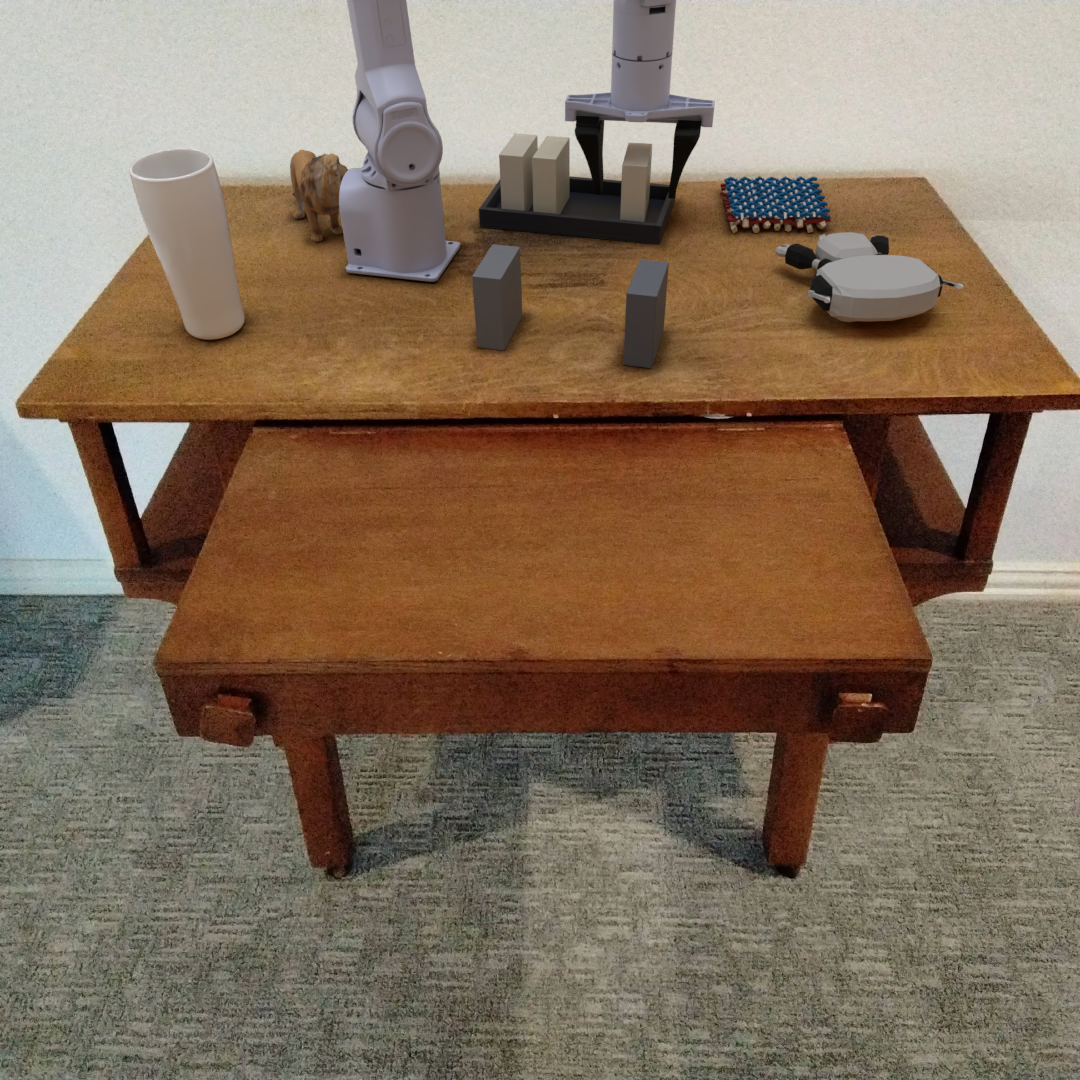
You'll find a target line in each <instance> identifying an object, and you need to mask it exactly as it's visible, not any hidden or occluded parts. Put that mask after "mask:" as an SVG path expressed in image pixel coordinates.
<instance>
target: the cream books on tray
mask: <svg viewBox="0 0 1080 1080" xmlns="http://www.w3.org/2000/svg"><path fill="white" fill-rule="evenodd" d="M570 141H571V140H570V137H568V136H552V135H546V136H545V137H544V139H543V141H542V142H541V143H540V145H538V142H539V141H538V134H528V133H518V132H517V133H513V135H512V137H511V138H510V139H509V141H508V142H507V143H506V145H505V146H504V148H502V150H501V151H500V153H499V154H498V159H499V160H498V162H499V164H498V165H499V180H500V184H501V205H502V209H510V210H521V211H529V209H530V208H531V206H532V205H533V208H534V212H543V213H553V214H560V213H561V212H562V210H563V208H564V206H565V204H566V203H567V201H568V199H569V196H570V173H571V172H570V169H571V168H570V165H571V164H570V163H571V162H570V159H571V158H570V153H571V152H570V149H571V148H570Z"/></svg>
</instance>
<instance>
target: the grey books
mask: <svg viewBox="0 0 1080 1080" xmlns="http://www.w3.org/2000/svg"><path fill="white" fill-rule="evenodd" d="M521 265H522V264H521V246H514V245H505V244H495V243H493V244H491V246H490V247H489V249H488V250H487V252H486V254H485V255H484V257H483V259H482V260H481V262H480V263H479V265H478V266H477V267H476V269H475V271H474V272H473V274H472V275H471V282H472V295H473V297H472V298H473V308H474V321H475V335H476V348H481V349H490V350H498V351H505V350H506V348H507V347H508V344H509V343H510V341H511V339H512V338H513V335H514V333H515V331H516V329H517V328H518V325H519V324H520V322H521V320H522V318H523V296H522V295H523V294H522V293H523V292H522V270H521V269H522V266H521ZM668 277H669V261H661V260H652V259H651V260H650V259H642V258H641V259H639V260H638V262H637V265H636V268H635V271H634V272H633V275H632V278H631V280H630V283H629V285H628V288H627V291H626V295H625V313H624V315H625V316H624V334H623V335H624V340H623V361H622V364H623V366H628V367H635V368H645V369H653V367H654V364H655V360H656V357H657V354H658V352H659V348H660V344H661V341H662V338H663V336H664V331H665V320H666V319H665V317H666V303H667V291H668Z"/></svg>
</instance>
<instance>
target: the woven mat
mask: <svg viewBox="0 0 1080 1080" xmlns="http://www.w3.org/2000/svg"><path fill="white" fill-rule="evenodd" d="M817 180H818V177H816V176H810V177H808V176H805V177H803V176H802V175H798V177H792V178H790V177H788V176H786V175H784V176H783V177H781V176H779V177H777V178H776V177H774V176H769V177H767V176H766V177H765V176H764V177H762V176H760V175H758V176H757V177H754V176H753V177H752V178H749V177H747V176H746V175H745V176H742V177H740V176H738V177H736V178H735V177H734V176H728V177H727V178H726V177H725V178H724V179H723V181H724V183H720V193H719V195H720V196H722V197H721V201H722V202H723V203H724V206H725V210H726V211H725V212H724V215H725V216H727V217H726V220H727V222H728V223H729V227H730V230H731V231H732V234H735V233H737V232H738V231H739V229H738V226H737V225H740V226H741V227H742V228H743V229H748V228H750V227H751V229H752V232H753V233H754V234H758V233H759V232H760V225H759V224H761V225H762V228H763V229H764V230H768V229H770V228H771V226H772V224H773V229H774V231H775V232H779V231H780V229H781V227H782V226H781V225H783V228H784V231H786V232H791V231H792V226H793V227H795V228H797V229H803V228H804V226H805V228H806V231H807V234H809V233H813V232H814V228H813V224H816V227H817V228H818V229H820V230H823V229H825V228H826V227H827V223H831V219H832V218H831V214H830V213H831V209H830V208H828V207H827V206H828V204H829V203H828V201H823V200H825V198H826V196H825V195H822V192H823V189H821V188H820V185H821V184H820V183H819V182H816V181H817Z"/></svg>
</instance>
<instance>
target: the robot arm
mask: <svg viewBox="0 0 1080 1080" xmlns="http://www.w3.org/2000/svg"><path fill="white" fill-rule="evenodd" d="M346 4H347V10H348V15H349V22H350V27H351V32H352V33H351V34H352V38H353V39H352V40H353V45H354V51H355V56H356V62H357V65H356V69H355V73H354V80H355V86H356V99H355V104H354V107H353V110H352V117H351V118H352V126H353V127H352V128H353V131H354V133H355V135H356V137H357V139H358V140H359V142H360V143H361V144H362V145H363V146H364V147H365V149H366V150H367V153H366V154H365V156H364V160H363V164H362V166H361V167H352V168H349V169H348V171H347V172H346V173H345V175H344V177H343V179H342V182H341V185H340V192H339V216H340V221H341V226H342V228H343V233H342V234H343V241H344V246H345V252H346V259H347V262H348V263H347V265H346V266H345V272H346V273H347V274H348V273H349V274H356V275H366V276H374V277H382V278H383V277H384V278H391V279H392V278H393V279H401V280H410V281H421V282H428V283H435V282H437V281H438V280H439V279H440V277H441V276H442V274H443V273H444V272H445V270H446V268H447V267H448V266H449V265H450V263H451V262H452V260H453V258H454V257H455V256H456V254H457V253H458V251H459V250H460V249H461V243H460V242H459V241H453V240H446V228H445V217H444V207H443V196H442V195H443V194H442V185H441V183H442V182H441V173H440V165H441V161H442V158H443V153H444V145H443V140H442V136H441V134H440V131H439V130H438V128H437V127H436V125H435V124H434V122H433V121H432V119H431V117H430V114H429V110H428V104H427V98H426V95H425V91H424V88H423V86H422V85H423V84H422V82H421V79H420V76H419V73H418V69H417V66H416V61H415V55H414V48H413V39H412V33H411V24H410V18H409V10H408V3H407V0H346ZM612 5H613V9H612V11H613V12H612V15H613V16H612V39H611V40H612V41H611V43H612V45H611V72H610V73H611V74H610V77H611V78H610V92H600V93H599V92H598V93H588V94H587V93H586V94H567V96H566V98H565V100H564V121H565V122H575V127H574V136H575V138H576V141H577V143H578V144H579V146H580V148H581V150H582V151H581V152H583V155H584V158H585V160H586V163H587V166H588V169H589V173H590V176H591V177H590V178H592V181H593V187H594V194H595V195H601V192H602V189H603V179H604V155H603V152H604V133H605V121H609V122H629V123H655V124H656V123H659V124H675V128H674V134H673V150H672V167H671V173H670V179H669V184H668V185H669V194H668V198H672V199H674V198H675V196H676V197H677V195H676V194H677V190H678V186H679V183H680V179H681V176H682V174H683V171H684V169H685V167H686V164H687V162H688V160H689V158H690V156H691V154H692V152H693V150H694V149H695V147H696V146H697V144H698V142H699V140H700V137H701V130H702V128H713V124H714V115H715V105H716V104H715V103H716V100H715V99H703V98H695V97H689V96H683V95H676V94H671V79H672V66H673V50H674V37H675V22H676V21H675V19H676V9H677V7H676V6H677V0H613V4H612ZM675 199H676V198H675Z"/></svg>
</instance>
